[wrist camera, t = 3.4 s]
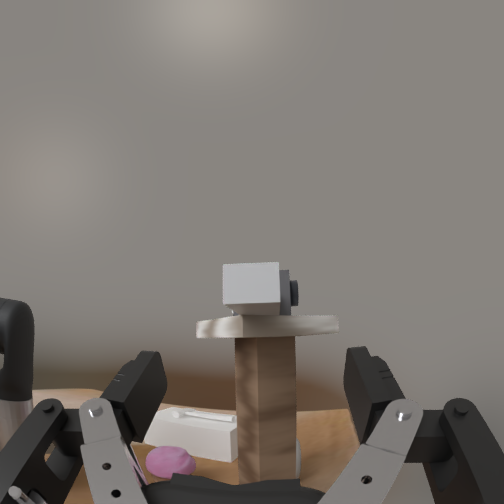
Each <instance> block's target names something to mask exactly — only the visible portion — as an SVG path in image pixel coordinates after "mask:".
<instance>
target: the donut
mask: <svg viewBox="0 0 504 504" xmlns="http://www.w3.org/2000/svg"><path fill="white" fill-rule="evenodd" d="M300 471H301V449H300V443H299V441H298V439H297V438H296V479H298V477H299V475H300Z"/></svg>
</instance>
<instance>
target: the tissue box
mask: <svg viewBox="0 0 504 504" xmlns="http://www.w3.org/2000/svg"><path fill="white" fill-rule="evenodd" d="M195 410H196V409H190V408H184V409H181V408H176V407H171V408H168V409H164V410H161V411H157V412H156V414H155V416H154V418H153V421H152V423H151V425H150V427H149V429H148V431H147V433H146V435H145V438H144V440H145V443H146V444H149V445H153V446H156V447H159V446H176V447H181V448H183V449H185V450H186V451H187V452H188V454H189V455H192V456H197V457H202V458H207V459H213V460H218V461H224V462H233V461H234V460H235V459H236V458H237V457H238V443H237V415H227V414H217V413H209V412H201V411H195Z"/></svg>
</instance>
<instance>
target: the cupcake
mask: <svg viewBox="0 0 504 504" xmlns="http://www.w3.org/2000/svg"><path fill="white" fill-rule="evenodd" d="M146 468H147V470H148V471H149V472H150V473H151V475H152V477H153V479H154V481H155V482H159V481H166V480H171V477H172V474H173V473H179V474H186V475H191V473H192V472H194V470H195V468H196V463H195V460H194V459H193V458H192V457H191V456H190V455H189V454H188V452H187V451H186V450H185V449H183V448H181V447H176V446H159V447H157V448H155V449H153V450H152V451H150V452H149V454H148V455H147V458H146Z"/></svg>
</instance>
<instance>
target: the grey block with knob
mask: <svg viewBox="0 0 504 504" xmlns="http://www.w3.org/2000/svg"><path fill="white" fill-rule="evenodd" d="M223 304H224V305H225V306H227V307H228V308H230V309H231V310H232V313H233V316H237V315H284V316H291V306H298V284H297V280H295V281H290V280H289V270H279V262H271V263H270V262H269V263H246V264H223Z"/></svg>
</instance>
